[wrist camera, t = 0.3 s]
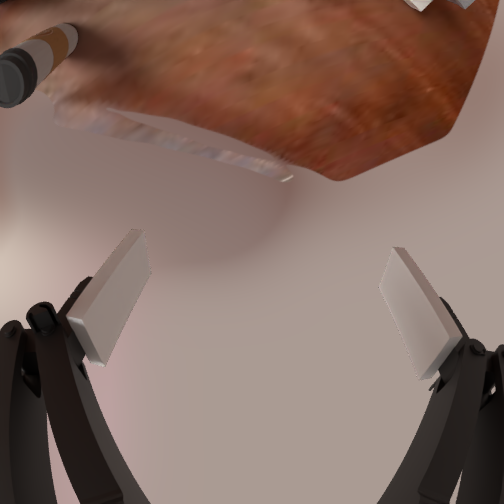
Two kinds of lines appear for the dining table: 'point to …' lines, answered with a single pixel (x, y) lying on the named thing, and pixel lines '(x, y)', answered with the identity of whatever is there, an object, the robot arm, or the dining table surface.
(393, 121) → the dining table surface
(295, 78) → the dining table surface
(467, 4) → the switch tab
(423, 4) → the switch panel
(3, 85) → the coffee cup
